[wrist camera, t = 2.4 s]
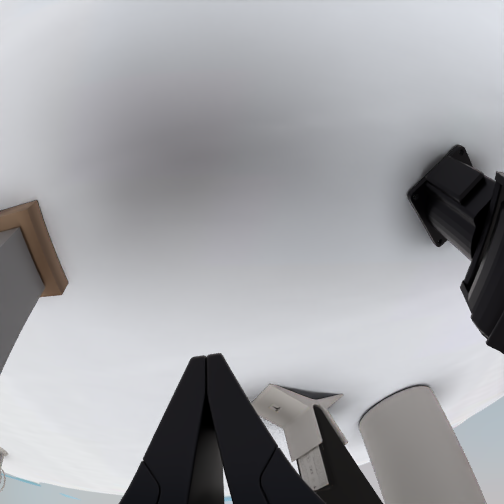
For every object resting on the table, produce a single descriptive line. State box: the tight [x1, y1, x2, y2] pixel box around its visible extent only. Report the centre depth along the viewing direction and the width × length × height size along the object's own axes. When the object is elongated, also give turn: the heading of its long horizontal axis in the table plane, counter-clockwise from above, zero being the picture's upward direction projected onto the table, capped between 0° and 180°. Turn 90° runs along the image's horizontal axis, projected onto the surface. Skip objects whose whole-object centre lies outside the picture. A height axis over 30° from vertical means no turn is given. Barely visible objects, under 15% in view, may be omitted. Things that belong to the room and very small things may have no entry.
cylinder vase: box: [359, 386, 487, 504], centre depth 28 cm, size 12×12×25 cm
